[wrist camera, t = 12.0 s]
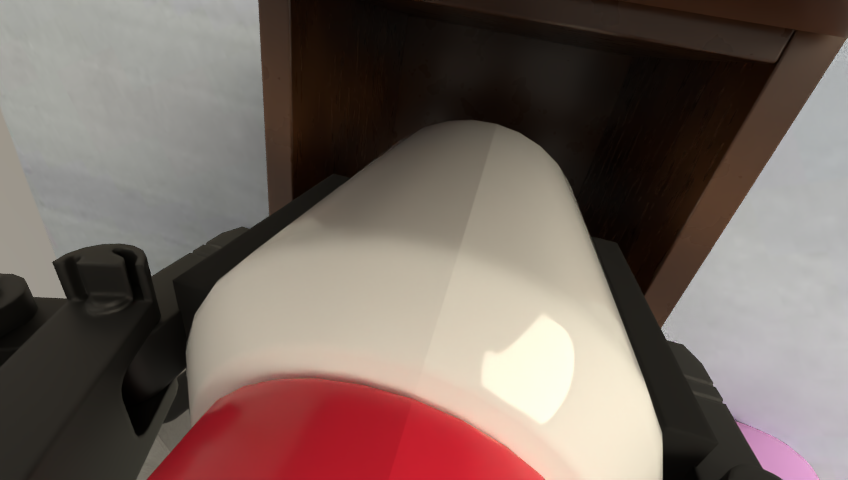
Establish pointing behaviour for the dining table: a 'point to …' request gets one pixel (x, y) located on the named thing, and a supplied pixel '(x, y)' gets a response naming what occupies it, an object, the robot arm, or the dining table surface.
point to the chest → (548, 104)
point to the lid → (770, 12)
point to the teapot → (777, 455)
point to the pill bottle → (421, 333)
